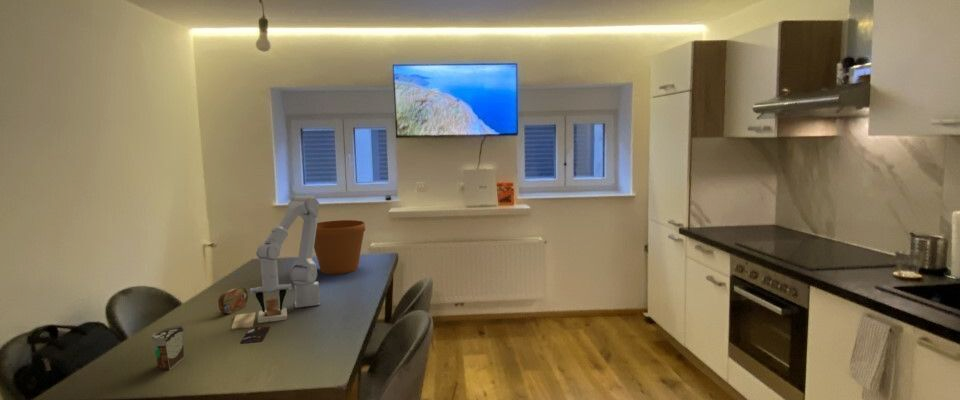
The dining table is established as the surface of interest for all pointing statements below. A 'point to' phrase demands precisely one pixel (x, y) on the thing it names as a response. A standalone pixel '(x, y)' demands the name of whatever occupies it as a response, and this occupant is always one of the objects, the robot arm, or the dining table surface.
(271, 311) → the block
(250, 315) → the oak board
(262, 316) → the pocket plate
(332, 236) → the flowerpot
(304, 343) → the dining table surface
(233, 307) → the tin
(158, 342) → the food container
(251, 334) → the smartphone
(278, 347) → the dining table surface
